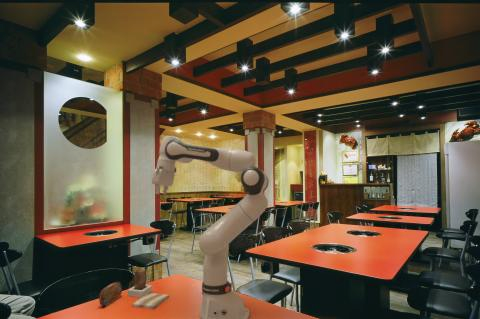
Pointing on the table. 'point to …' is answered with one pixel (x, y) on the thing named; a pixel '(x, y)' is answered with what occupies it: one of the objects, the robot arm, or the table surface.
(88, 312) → the table surface
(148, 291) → the holder
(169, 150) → the robot arm
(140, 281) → the peg
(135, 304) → the board
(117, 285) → the tin
